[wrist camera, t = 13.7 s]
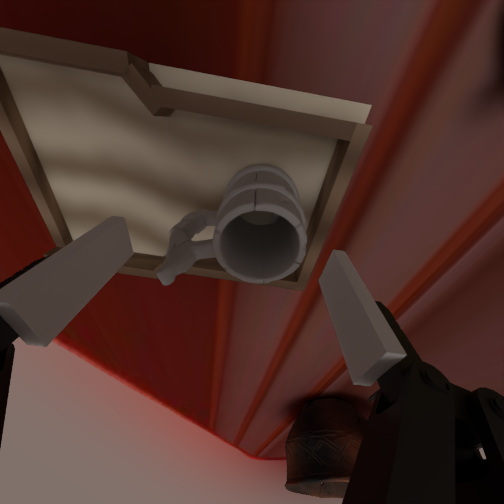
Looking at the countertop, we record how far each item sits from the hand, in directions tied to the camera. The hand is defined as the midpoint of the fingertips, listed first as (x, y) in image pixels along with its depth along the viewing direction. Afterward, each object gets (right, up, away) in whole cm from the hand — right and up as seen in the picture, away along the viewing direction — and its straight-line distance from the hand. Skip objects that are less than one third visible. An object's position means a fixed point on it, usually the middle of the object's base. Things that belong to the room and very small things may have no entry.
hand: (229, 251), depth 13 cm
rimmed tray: (-6, +7, +9) cm, 13 cm away
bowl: (+22, -42, +40) cm, 62 cm away
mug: (0, +5, +9) cm, 10 cm away
